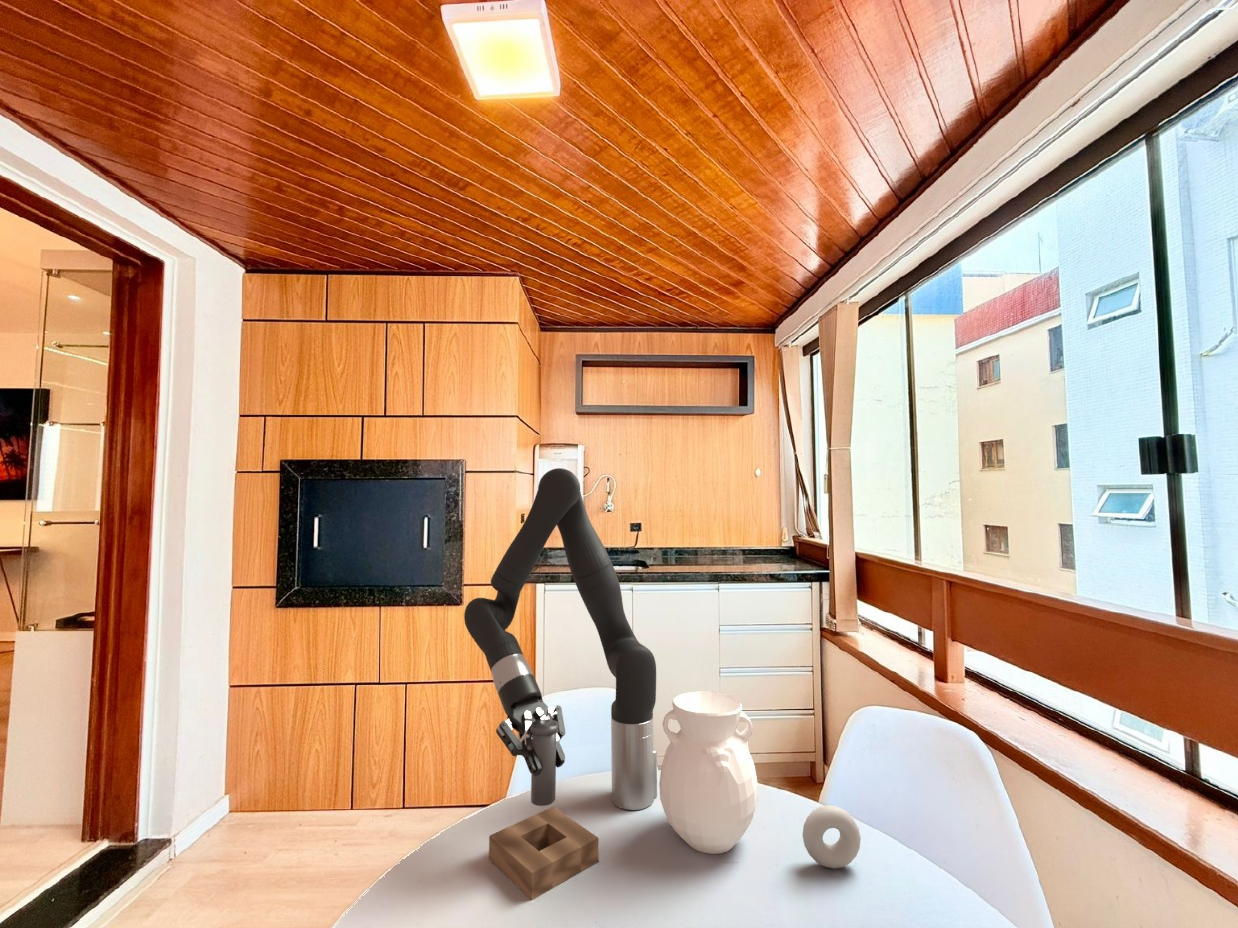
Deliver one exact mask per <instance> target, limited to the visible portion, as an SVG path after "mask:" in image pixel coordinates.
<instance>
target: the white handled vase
mask: <svg viewBox="0 0 1238 928" xmlns="http://www.w3.org/2000/svg"><path fill="white" fill-rule="evenodd" d="M671 704H672V708H673V709H672V710H670V711H668V712H667V713H666V714H665V715H664V717H663V720H662V728H663V732H664V734H665V735H666V737H667V738H668V740H669V742H670V743H669V744H668V746H667V747H666V750H665V754H664V756H663V759H662V762H661V767H660V773H659V781H658V782H659V783H658V785H659V799H660V802H661V807H662V808H663V809H662V810H663V812H664V815H665V818H666V820H667V821H668V823H669V824H670V825H671V828H672V829H673V830H674V831H675V833H677V835H679V837H681V838H682V839H683V841H684V842H686V843H687V844H688V845H689V846H690V847H691V848H692V849H694V850H696V851H698V852H701V853H705V854H709V855H710V854H711V855H717V854H718V855H719V854H725V853H728V852H729V851H731V850H732V849H733V848H734V847H735V845H736V844H737V843H738V842H739V841H740V840H741V838H742V837H743V836H744V835H745V833H746V831H747V830H748V828H749V826H750V825H751V823H752V821H753V818H754V814H755V811H756V807H757V803H758V790H759V789H758V787H759V785H758V779H757V778H758V777H757V773H756V772H757V771H756V767H755V763H754V760H753V758H752V755H751V753H750V751H749V744H748V741H749V739H750V738H751V736H752V734H753V723H752V721H751V719H750V717H749V716H748V715H747V714H746V713H745V712H744V711H743V705H742V703H741V702H740V700H739V699H738V698H736V697H734V696H732V695H729V694H725V693H721V692H716V691H709V690H708V691H701V690H698V691H690V692H686V693H685V692H684V693H681V694H679V695H677V696H676V697H674V699H673V700H672V703H671ZM670 720H674V721H677V723H678V724H679V728H680V729H679V730H678V732H674V731H671V730H670V729H669V727H668V726H669V722H670ZM743 722H744V723H745V724H746V726H745V729H744V730H742V731H741V732H740V731H739V730H738V729H737V728H738V725H739V723H743ZM724 852H725V853H724Z"/></svg>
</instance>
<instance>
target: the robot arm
mask: <svg viewBox="0 0 1238 928" xmlns="http://www.w3.org/2000/svg"><path fill="white" fill-rule="evenodd" d="M581 493H582V492H581V483H580V481H579V479H578V477H577V475H575V474H574V472H572V471H571V470H568V469H566V468H563V467H562V468H553V469H550V470H548V471H547V472H545V473H544V474H543V475H542V476H541V478H540V480H539V482H538V488H537V490H536V494H535V497H534V501H532V505H531V508H530V510H529V512H528V514H527V517H526V518H525V520H524V522H523V524H522V526H521V528H520V529H519V531H518V533H517V534H516V536H515V537H514V539H513V541H512V542H511V543H510V545H509V546H508V548H507V550H506V552H505V553H504V554H503V557H502V558H501V560H500V561H499V563H498V565H497V567H496V569H495V571H494V573H493V574H492V576H491V579H490V584H491V585H490V586H492V588H493V589H494V590H495V591H496V592H497V593H496V596H495V599H491V598H486V597H477V598H474V599H471V600H470V601H469V602H468V603H467V605H466V606H465V609H464V614H463V617H464V618H463V619H464V624H465V628H466V629H467V631H468V634H469V635H470V636H471V637H472V639H473V641H474V642H475V644H476V645H477V646H478V648H479V649H480V650H481V651H482V652H483V655H484V656H485V659H486V662H487V664H488V667H489V669H490V672H491V675H492V681H493V684H494V687H495V690H496V692H497V695H498V698H499V700H500V702H501V705H502V708H503V711H504V713H505V715H506V717H507V718H506V720H502V721H501V722H500V723H499V725H498V726H497V727H496V729H495V733H496V734H497V736H498V737H499V739H500V740H501V742H502V743H503V744H504V746H505V747H506V748H507V750H508V751H509V753H510V754H511V756H513V757H517V756H521V757H523V758H524V760H525V763H526V766H527V768H528V771H529V773H530V774H532V773H533V775H534V776H537V775H539V774H540V772H541V771H542V767H541V765H540V762H539V760H538V757H537V755H536V752H535V750H532V748H533V745H532V733H531V723H532V722H534V721H537V720H541V719H548V717H549V719H551V720H555V721H557V722H558V731H557V732H556V769H557V768H561V767H562V766H563V765H564V764H565V762H566V755H565V752H564V750H563V747H562V745H561V743H560V741H561V740H562V739H563V737H564V736H565V735H566V726H565V721H564V715H563V710H562V709H563V708H562V706H561V705H559V704H557V705H556V706H555V707H548V704H546V703H545V702H544V701H543V695H542V691H541V690H540V687H539V684H538V682H537V680H536V678H535V676H534V673H533V671H532V668H531V667H530V664H529V663H528V661H527V659H526V658H525V655H524V653H523V651H522V648H521V646H520V644H519V641H518V640H517V638H516V637H515V635H514V634H513V633H511V632H509V631H507V629H508V628H509V627H510V625H511V624H512V622H513V620H514V618H515V614H516V610H517V607H518V605H519V604H518V603H519V600H520V594H521V591H522V589H523V588H524V587H525V585H526V583H527V580H528V579H529V577H530V575H531V574H532V571H533V570H534V568H535V566H536V564H537V562H538V560H539V558H540V556H541V554H542V552H543V550H544V548H545V545H546V544H547V542H548V540H549V538H550V536H551V534H552V533H553V532H554V530H555V528H556V527H557V529H558V531H559V534H560V537H561V540H562V543H563V547H564V548H563V549H564V553H565V556H566V560H567V563H568V567H569V570H570V573H571V575H572V578H573V580H574V583H575V586H576V588H577V591H578V593H579V595H580V597H581V599H582V602H583V604H584V606H585V608H586V611H587V612H588V614H589V617H590V618H591V621H592V622H593V624H594V626H595V629H596V630H597V633H598V636H599V639H600V642H601V646H602V649H603V654H604V656H605V660H606V664H607V666H608V669H609V671H610V674H612V676H613V677H615V700H614V701H613V702H612V703H611V707H610V709H611V710H610V713H611V714H610V715H611V716H610V721H611V723H610V724H611V725H610V727H611V732H610V733H611V738H610V739H611V740H610V741H611V743H610V744H611V748H610V749H611V755H610V756H611V757H610V758H611V759H610V760H611V801H612V803H613V804H614V805H615V806H616V807H618V808H620V809H623V810H626V811H627V810H629V811H639V810H643V809H647V808H648V807H650V806H651V805H653V803H654V800H655V799H656V798H657V797H658V773H657V772H658V771H657V770H658V769H657V768H658V767H657V766H658V760H657V758H658V757H657V751H656V750H655V749H654V708H655V705H656V701H657V663H656V659H655V656H654V653H653V652H652V650H650V649H649V648H648V647H646V646H645V645H644V644H642V643H641V642H639V640H638V638H637V637H636V635H635V634H634V632H633V630H632V628H631V625H630V623H629V621H628V620H627V616H626V613H625V609H624V604H623V595H622V588H621V585H620V580H619V578H618V575H617V573H616V571H615V568H614V565H613V563H612V560H611V558H610V556H609V553H608V552H607V550H606V548H605V546H604V544H603V542H602V541H601V539H600V536H599V535H598V533H597V532H596V530H595V528H594V527H593V524H592V522H591V520H590V518H589V516H588V513H587V509H586V506H585V504H584V500H583V496H582V494H581ZM513 729H514V730H515V731H516V732H517V735H516V734H515V732H514V731H513Z"/></svg>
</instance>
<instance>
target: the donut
mask: <svg viewBox="0 0 1238 928" xmlns="http://www.w3.org/2000/svg"><path fill="white" fill-rule="evenodd" d="M829 829H836V830H837V831H838V832H839V838H838V840H837V841H836V842H834V843H832V844H827V843H825V841H824V840H823V837H824V834H825V833H826V832H827V831H828V830H829ZM802 839H803V841H802V842H803V845H804V847H805V850H806V851H807V853H808V855H809V856H810V857H811V858H812V859H813V860H814V861H815V863H817V864H818V865H821V866H823V867H825V868H829V869H840V868H841V869H842V868H844V867H846V866H848V865H849V864H851V863H852V862H853V860H855V859H856V857H857V855H858V853H859V851H860V849H861V848H860V847H861V840H862V839H861V832H860V829H859V826H858V824H857V822H856V820H855V818H854V817H853V816H851V814H850V813H849V812H848V811H846V810H845V809H843V808H841V807H839V806H835V805H828V804H827V805H821V806H819V807H817V808H815V809H813V810H812V811H811V812H810V813H809V815H807V817H806V818H805V821H804V823H803V829H802Z"/></svg>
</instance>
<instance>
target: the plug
mask: <svg viewBox="0 0 1238 928" xmlns="http://www.w3.org/2000/svg"><path fill="white" fill-rule="evenodd" d="M557 731H558V722H557V721H555V720H551V719H550V718H547V719H541V720H537V721H534V722H532V723H531V733H532V745H533V748H532V750H535V752H536V755H537V757H538V760H539V762H540V765H541V767H542V771H541V772H540V774H539V775H537V776H534V775H533V773H532V774H531V773H530V774H531V775H530V776H531V777H530V778H531V779H530V780H531V781H530V782H531V783H530V802H531V804H532V805H534V806H538V807H546V806H549V805H551V804H553V803H555V802H556V794H557V793H556V791H557V789H556V784H557V783H556V781H557V780H556V779H557V773H556V772H557V767H556V732H557Z"/></svg>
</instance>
